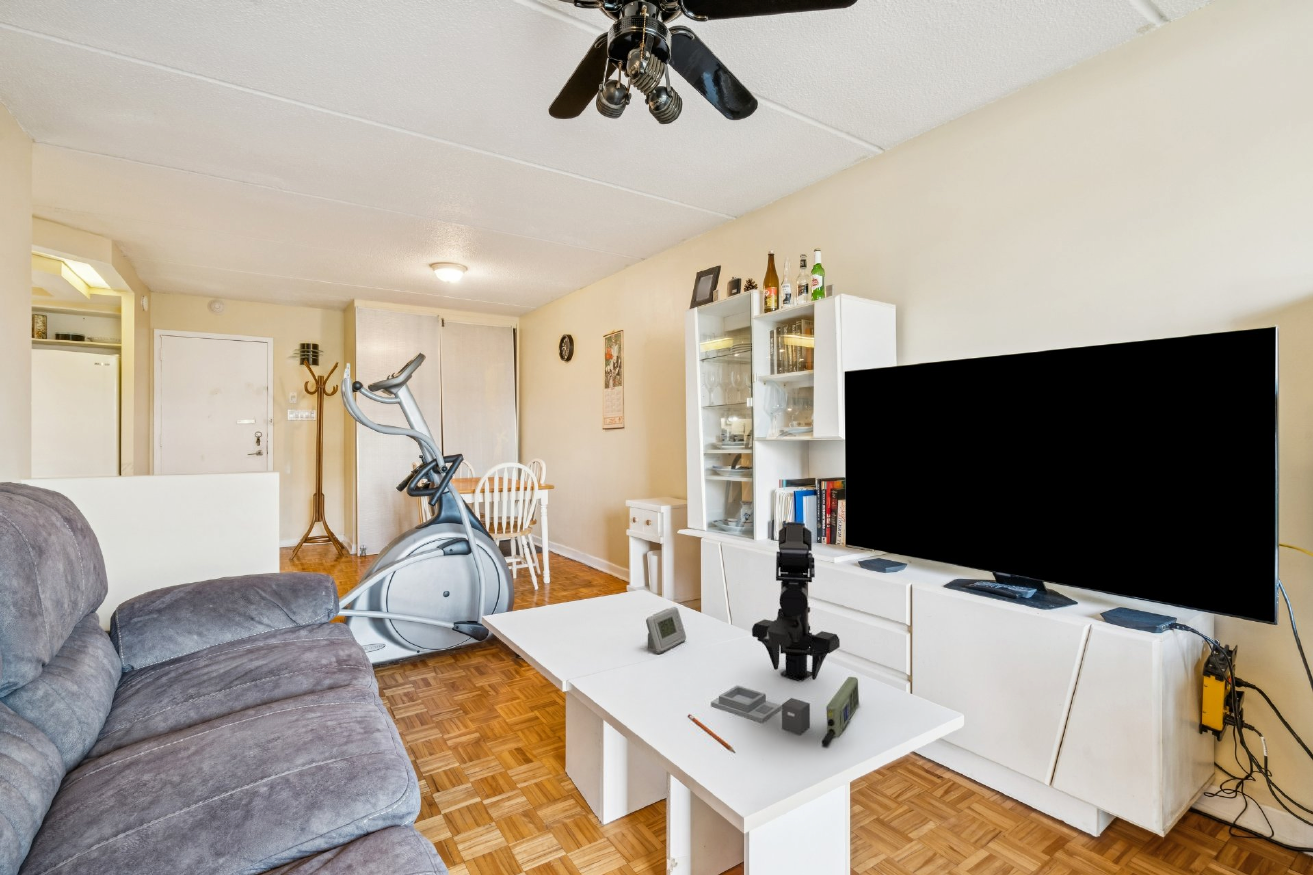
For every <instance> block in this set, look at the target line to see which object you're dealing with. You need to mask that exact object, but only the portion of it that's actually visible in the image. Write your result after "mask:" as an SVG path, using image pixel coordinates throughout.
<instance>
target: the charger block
mask: <svg viewBox="0 0 1313 875" xmlns="http://www.w3.org/2000/svg"><path fill="white" fill-rule="evenodd" d="M781 705H782V710H781V730H782V731H786V732H789V733H792V734H795V735H799V736H802V735H803V734H804V733H806V732H807V731H808V730H809V729H810V728H811V703H809V702H807V701H803V700H801V699H797V698H793V697H790V698H789V699H787V700H786V701H785V702H783V703H781Z"/></svg>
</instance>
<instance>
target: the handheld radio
mask: <svg viewBox="0 0 1313 875" xmlns="http://www.w3.org/2000/svg"><path fill="white" fill-rule="evenodd" d="M859 695H860V694H859V680H858V677H856V676H849V677H847V678H846V680H844V682H843V684H842V685H841V686H840V688H839V689H838V690H837V691H836V693H835V694H834V696H833V697H832V698H831V699H830V701H829V702H828V704H827V705H826V710H825V711H826V730H827V733H826V734H825V736H824V737H823V739H822V740H821V743H822V744H821V745H823V747H827V746H828V745H829V743H830V742H831V740H832V739H833V738H836V737H837V738H839V737H840V736H841V734H842V732H843V731H844V730H845V727H846V726H847V724H848V723H849V721H850V720H851V718H852V716H853V715H854V713H855V712H856V710H857V708H858V707H859V705H860V699H859V698H860V696H859Z"/></svg>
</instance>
